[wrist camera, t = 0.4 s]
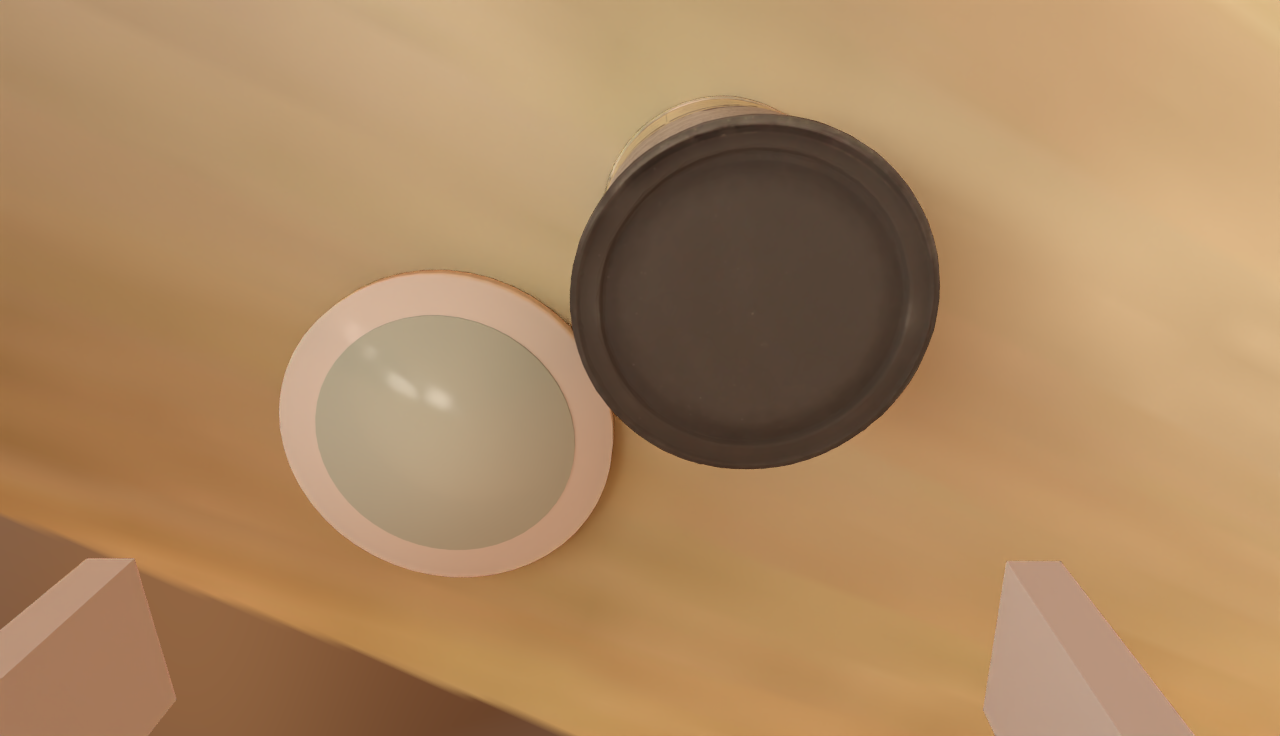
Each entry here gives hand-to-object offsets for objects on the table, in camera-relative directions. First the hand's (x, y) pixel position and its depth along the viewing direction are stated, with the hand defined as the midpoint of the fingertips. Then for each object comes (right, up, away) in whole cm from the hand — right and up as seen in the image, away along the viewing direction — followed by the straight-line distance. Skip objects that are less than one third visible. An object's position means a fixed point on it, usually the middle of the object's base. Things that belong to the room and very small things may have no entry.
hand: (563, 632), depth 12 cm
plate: (-8, +1, +27) cm, 28 cm away
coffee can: (+5, +11, +23) cm, 26 cm away
